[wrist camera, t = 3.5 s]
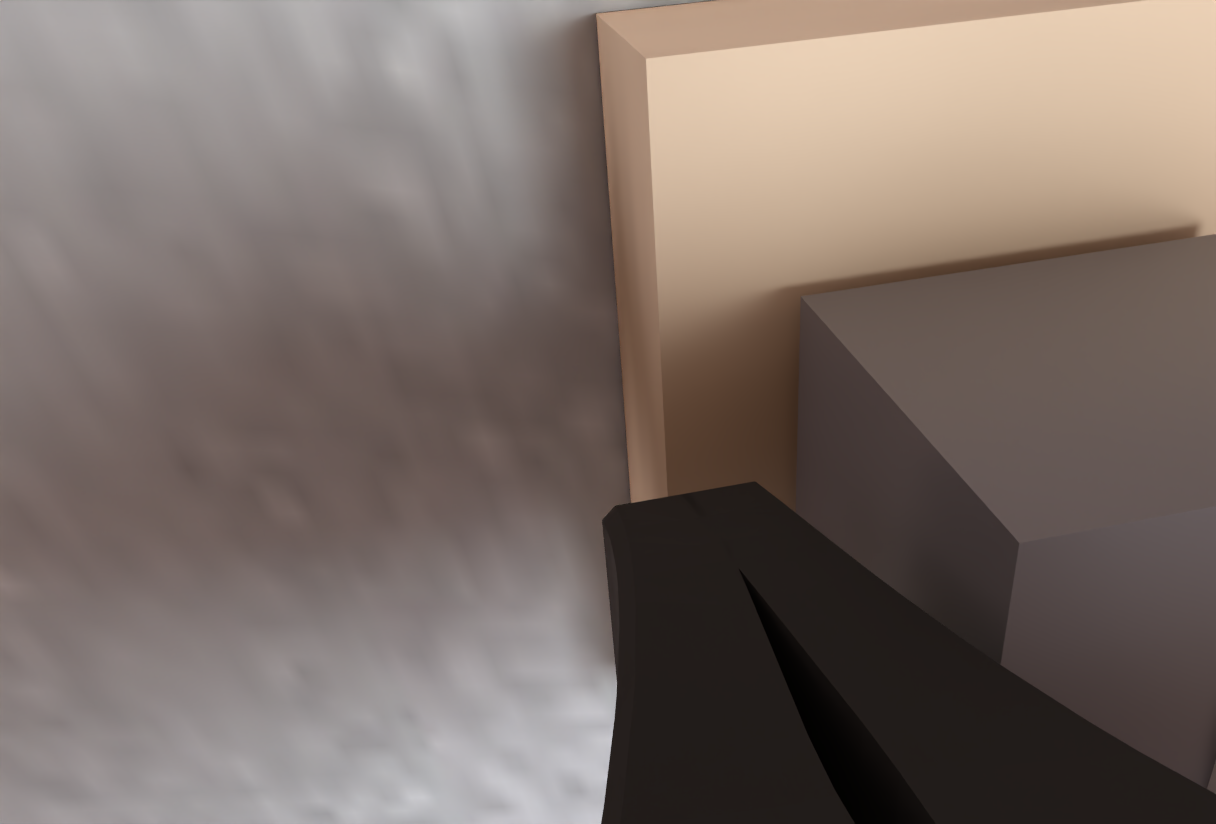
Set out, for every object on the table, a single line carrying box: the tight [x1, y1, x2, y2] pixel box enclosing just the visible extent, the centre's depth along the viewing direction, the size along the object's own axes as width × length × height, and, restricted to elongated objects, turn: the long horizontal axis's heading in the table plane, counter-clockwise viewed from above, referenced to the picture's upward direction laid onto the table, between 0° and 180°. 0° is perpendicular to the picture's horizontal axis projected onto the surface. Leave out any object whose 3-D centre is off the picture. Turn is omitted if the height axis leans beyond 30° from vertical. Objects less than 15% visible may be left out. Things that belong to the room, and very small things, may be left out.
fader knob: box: [796, 234, 1216, 794], centre depth 9 cm, size 4×4×4 cm
